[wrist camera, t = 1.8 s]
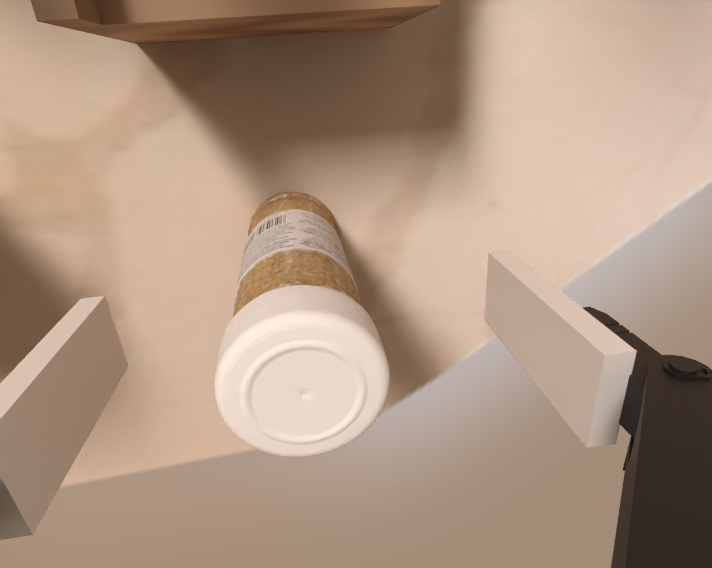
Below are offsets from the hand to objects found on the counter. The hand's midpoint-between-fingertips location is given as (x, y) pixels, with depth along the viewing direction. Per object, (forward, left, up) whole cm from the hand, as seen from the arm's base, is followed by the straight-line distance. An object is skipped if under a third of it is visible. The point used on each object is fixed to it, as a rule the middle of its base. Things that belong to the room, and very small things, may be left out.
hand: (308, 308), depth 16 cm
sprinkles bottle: (0, 0, -9) cm, 9 cm away
